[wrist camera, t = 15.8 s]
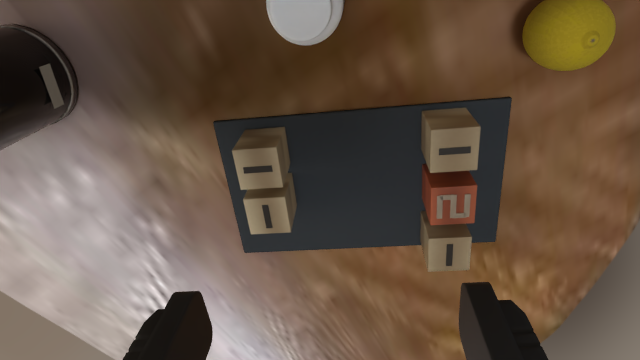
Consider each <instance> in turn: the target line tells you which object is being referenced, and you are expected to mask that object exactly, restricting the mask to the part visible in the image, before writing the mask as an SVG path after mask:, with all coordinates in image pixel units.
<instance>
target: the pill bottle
mask: <svg viewBox="0 0 640 360" xmlns="http://www.w3.org/2000/svg"><path fill="white" fill-rule="evenodd" d="M344 1H345V0H266V7H267V13H268V16H269V19H270V22H271V24H272V25H273V27H274V29H275V30H276V31H277V32H278V33H279V34H280V35H281V36H282V37H283V38H284V39H286V40H287V41H289V42H291V43H294V44H298V45H313V44H317V43H319V42H322V41H323V40H325V39H326V38H328V37H329V36H330V35H331V34H332V33H333V32H334V30H335V29H336V27H337V26H338V24H339V22H340V19H341V16H342V13H343V8H344Z"/></svg>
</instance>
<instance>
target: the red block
mask: <svg viewBox="0 0 640 360" xmlns="http://www.w3.org/2000/svg"><path fill="white" fill-rule="evenodd" d="M476 197H477V184H476V182H475V181H474V179H473V177H472V175H471V173H470V172H469V170H468V171H453V172H437V173H430V171H429V169H428V166H427V164H422V200H423V203H424V206H425V210H426V213H427V216H428V220H429V223H430V225H448V224H467V223H474V222H475V209H476Z"/></svg>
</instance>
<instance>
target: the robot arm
mask: <svg viewBox="0 0 640 360" xmlns="http://www.w3.org/2000/svg"><path fill="white" fill-rule="evenodd" d="M76 100H77V82H76V78H75V74H74V72H73V69H72V67H71V65H70V63H69V62H68V60H67V58H66V57H65V56H64V54H63V53H62V52H61V51H60V49H59V48H58V47H57V46H56V45H55V44H54V43H53V42H51V41H50V40H49V39H48V38H46V37H45V36H43V35H42V34H40V33H38V32H37V31H35V30H32V29H30V28H27V27H24V26H20V25H2V26H0V151H1V150H3V149H4V148H6V147H8V146H10V145H12V144H14V143H16V142H18V141H19V140H21V139H23V138H25V137H27V136H29V135H31V134H33V133H35V132H37V131H39V130H40V129H42V128H44V127H46V126H48V125H50V124H53V123H56V122H58V121H59V120H61V119H63V118H65V117H66V116H67V115H68V114H69V113H70V112H71V111H72V109H73V108H74V106H75V103H76ZM459 331H460V337H461V342H462V345H463V349H464V352H465V356H466V359H467V360H548V358H547V356H546V354H545V352H544V350H543V348H542V347H541V346H540V342H539V340H538V338H537V336H536V334H535V333H534V332H533V328H532V326H531V324H530V322H529V320H528V318H527V316H526V314H525V313H524V312H523V311H522V310H521V309H520V308H519V307H518V306H517V305H516V304H515V303H514V302H512V301H511V300H498V299H497V297H496V295H495V293H494V290H493V288H492V286H491V284H490V283H489V282H476V283H462V285H461V296H460V310H459ZM211 342H212V325H211V321H210V318H209V315H208V312H207V309H206V306H205V303H204V300H203V297H202V294H201V293H200V292H199V291H189V292H175V293H173V295H172V296H171V298H170V300H169V302H168V303H167V305H166V307H165V309H158V310H157V311H156V312H155V313H154V314H152V315H151V316H150V317H149V318H148V319H147V320H146V321H145V322H144V324H143V325H142V327H141V329H140V330H139V332H138V334H137V336H136V340H134V341H133V343H132V344H131V346H130V348H129V352H128V353H126V355H125V357H124V358H123V360H206V357H207V354H208V352H209V349H210V346H211Z"/></svg>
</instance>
